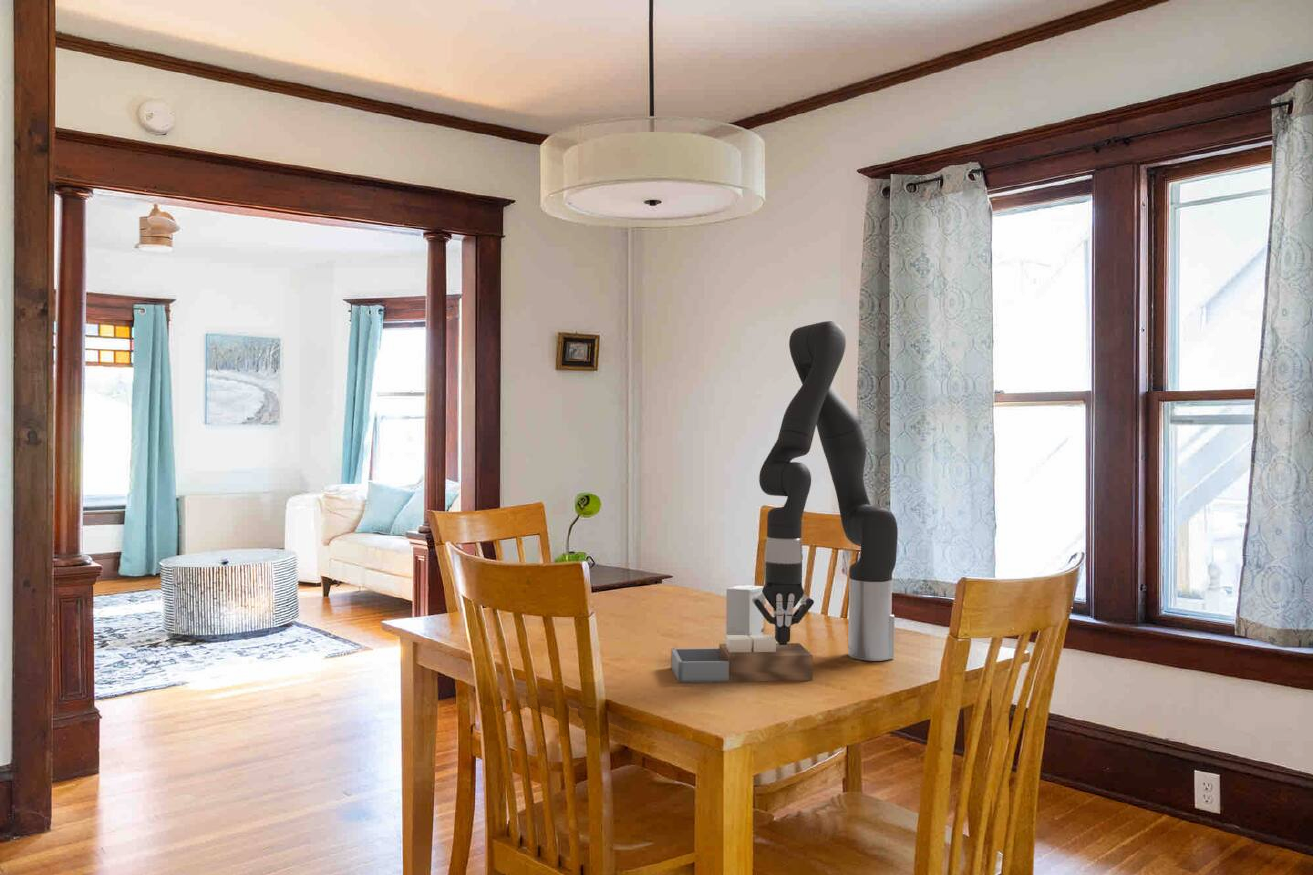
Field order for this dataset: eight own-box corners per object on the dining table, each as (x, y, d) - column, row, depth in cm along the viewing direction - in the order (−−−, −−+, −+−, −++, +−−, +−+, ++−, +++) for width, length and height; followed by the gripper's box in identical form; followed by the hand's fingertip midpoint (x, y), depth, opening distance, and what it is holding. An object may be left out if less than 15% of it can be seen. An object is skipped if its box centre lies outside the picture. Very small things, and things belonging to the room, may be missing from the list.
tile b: (747, 646, 196) (747, 634, 196) (751, 652, 192) (751, 639, 192) (725, 647, 196) (725, 635, 196) (729, 652, 192) (729, 639, 192)
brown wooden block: (798, 666, 201) (798, 642, 201) (812, 680, 190) (812, 655, 190) (718, 667, 199) (719, 643, 199) (728, 681, 188) (728, 656, 188)
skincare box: (749, 658, 208) (750, 590, 208) (724, 654, 211) (725, 587, 211) (764, 650, 215) (765, 585, 215) (740, 647, 218) (740, 582, 218)
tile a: (770, 646, 197) (771, 634, 197) (775, 651, 192) (775, 639, 192) (749, 646, 197) (749, 634, 196) (753, 652, 192) (754, 639, 192)
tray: (718, 667, 200) (718, 647, 200) (728, 682, 188) (728, 661, 188) (671, 667, 199) (671, 648, 199) (678, 682, 187) (678, 662, 187)
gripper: (810, 557, 199) (809, 639, 199) (748, 556, 198) (746, 640, 198) (820, 562, 192) (818, 648, 192) (755, 561, 190) (754, 648, 190)
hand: (782, 644), depth 195 cm, fingers closed
